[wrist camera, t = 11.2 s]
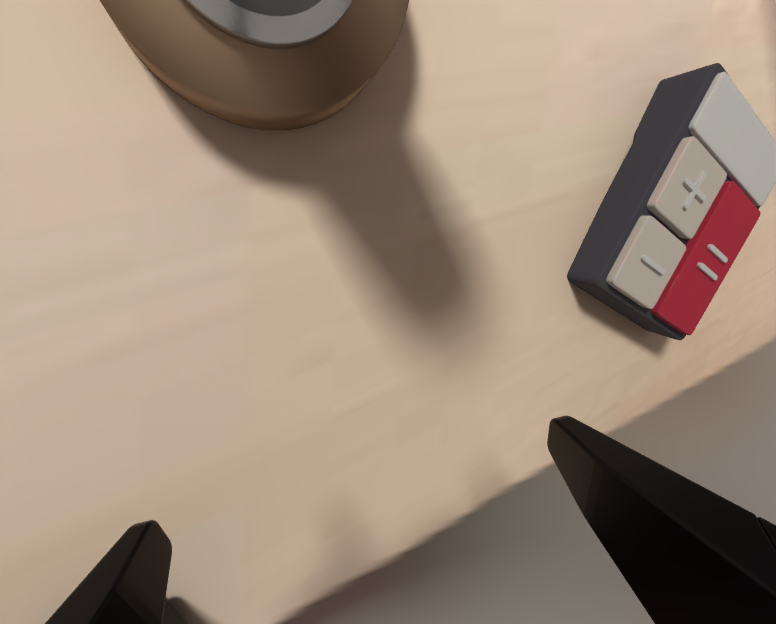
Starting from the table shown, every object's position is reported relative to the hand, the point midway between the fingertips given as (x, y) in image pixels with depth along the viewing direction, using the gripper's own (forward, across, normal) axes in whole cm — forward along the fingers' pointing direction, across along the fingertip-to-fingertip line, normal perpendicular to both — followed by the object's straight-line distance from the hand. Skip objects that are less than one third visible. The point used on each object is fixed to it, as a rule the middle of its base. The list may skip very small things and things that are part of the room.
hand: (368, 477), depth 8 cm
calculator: (+18, -24, +2) cm, 30 cm away
